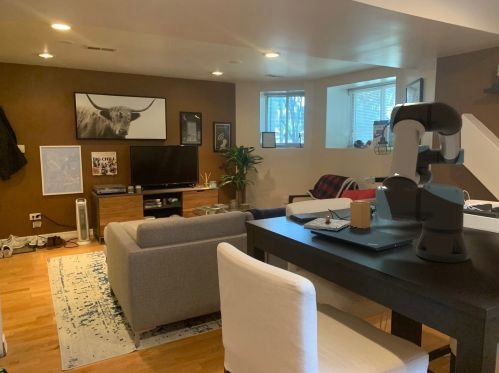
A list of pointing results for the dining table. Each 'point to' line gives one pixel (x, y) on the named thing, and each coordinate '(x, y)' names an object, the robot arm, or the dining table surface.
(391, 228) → the dining table surface
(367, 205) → the wooden block
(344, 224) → the plate
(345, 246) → the dining table surface
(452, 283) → the dining table surface
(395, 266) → the dining table surface
